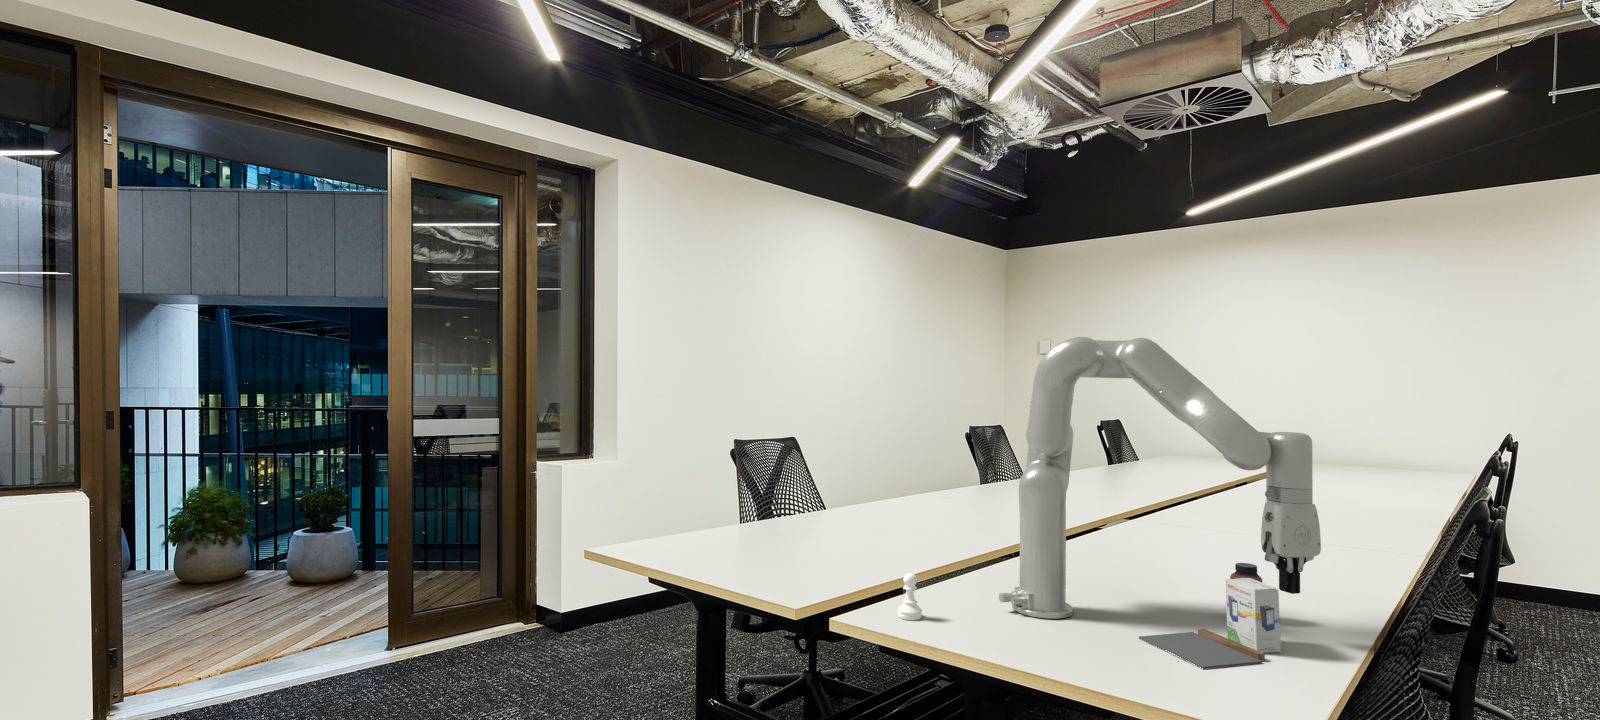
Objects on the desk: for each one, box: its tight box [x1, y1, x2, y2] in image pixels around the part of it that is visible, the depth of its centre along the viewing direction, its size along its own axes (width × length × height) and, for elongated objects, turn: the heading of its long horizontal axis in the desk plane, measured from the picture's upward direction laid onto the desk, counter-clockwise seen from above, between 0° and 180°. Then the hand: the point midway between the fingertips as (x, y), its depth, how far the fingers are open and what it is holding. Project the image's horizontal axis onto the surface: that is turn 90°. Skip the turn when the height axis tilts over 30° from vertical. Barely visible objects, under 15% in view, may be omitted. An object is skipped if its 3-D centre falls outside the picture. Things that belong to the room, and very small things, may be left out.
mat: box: [1138, 631, 1263, 670], centre depth 140 cm, size 13×16×1 cm
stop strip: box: [1197, 628, 1266, 662], centre depth 142 cm, size 2×14×1 cm, turn 16°
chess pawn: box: [897, 572, 923, 621], centre depth 157 cm, size 5×5×9 cm
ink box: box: [1225, 578, 1282, 654], centre depth 143 cm, size 9×5×12 cm, turn 6°
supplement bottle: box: [1229, 562, 1263, 583], centre depth 160 cm, size 6×6×11 cm
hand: (1289, 591), depth 146 cm, fingers closed
